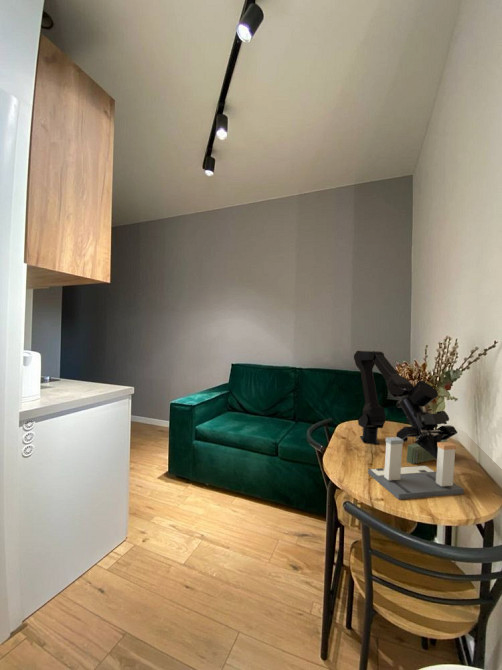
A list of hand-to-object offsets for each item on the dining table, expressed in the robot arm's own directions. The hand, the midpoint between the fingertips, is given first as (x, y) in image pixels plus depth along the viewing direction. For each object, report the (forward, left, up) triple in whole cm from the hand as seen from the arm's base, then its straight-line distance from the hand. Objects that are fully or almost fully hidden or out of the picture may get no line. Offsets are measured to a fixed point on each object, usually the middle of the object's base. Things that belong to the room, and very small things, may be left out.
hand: (441, 460), depth 82 cm
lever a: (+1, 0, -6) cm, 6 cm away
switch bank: (0, -6, -8) cm, 11 cm away
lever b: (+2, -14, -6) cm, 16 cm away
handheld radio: (-22, +8, -9) cm, 25 cm away
